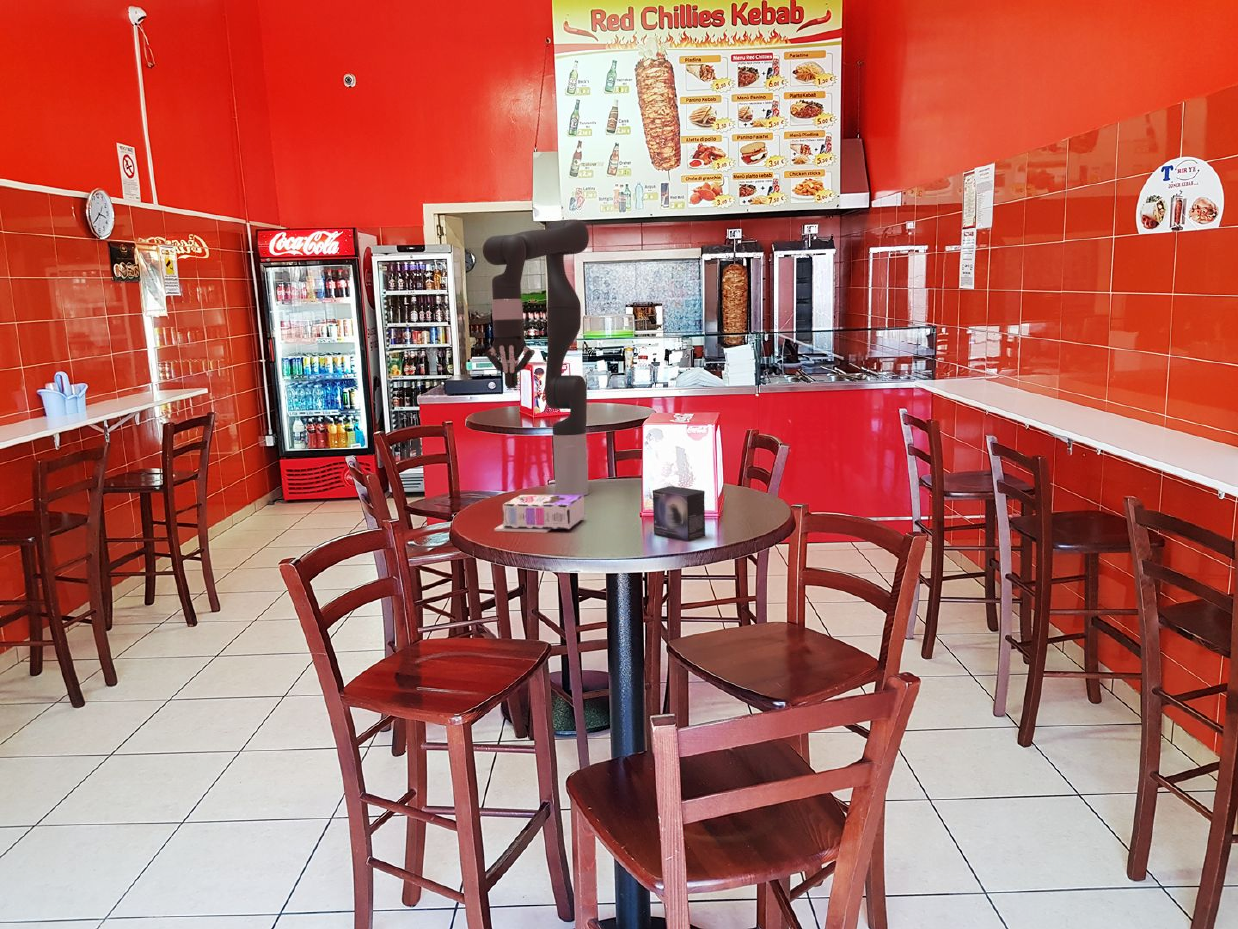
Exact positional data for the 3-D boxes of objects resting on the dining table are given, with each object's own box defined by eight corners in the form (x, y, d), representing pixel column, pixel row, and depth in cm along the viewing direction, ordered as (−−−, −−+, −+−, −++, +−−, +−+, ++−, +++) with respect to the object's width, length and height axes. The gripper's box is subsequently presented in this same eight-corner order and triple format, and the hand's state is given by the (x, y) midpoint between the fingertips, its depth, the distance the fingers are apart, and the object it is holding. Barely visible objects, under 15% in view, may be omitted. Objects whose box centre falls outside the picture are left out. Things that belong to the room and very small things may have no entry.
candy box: (569, 504, 220) (501, 504, 223) (570, 529, 221) (502, 528, 224) (584, 493, 233) (519, 493, 237) (585, 517, 234) (520, 516, 238)
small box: (651, 535, 216) (650, 489, 214) (671, 530, 220) (670, 485, 219) (687, 542, 208) (686, 494, 207) (706, 536, 213) (705, 490, 211)
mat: (519, 516, 240) (519, 514, 240) (568, 518, 237) (568, 515, 237) (494, 531, 225) (494, 528, 225) (546, 532, 222) (546, 530, 222)
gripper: (538, 316, 239) (541, 386, 242) (489, 318, 243) (492, 387, 245) (527, 317, 232) (531, 389, 235) (477, 318, 235) (481, 389, 238)
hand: (511, 387), depth 240 cm, fingers closed
